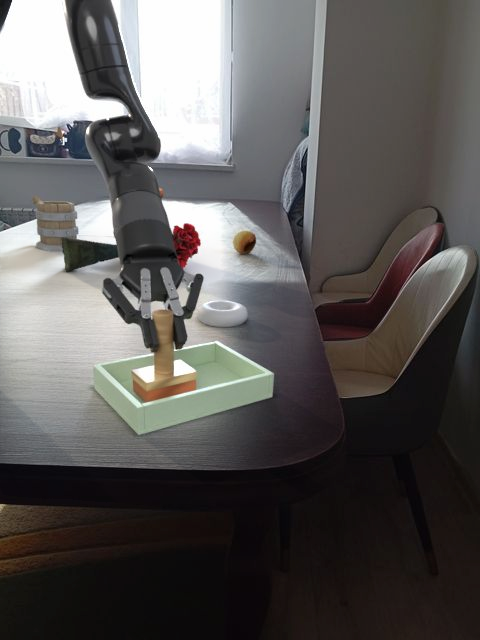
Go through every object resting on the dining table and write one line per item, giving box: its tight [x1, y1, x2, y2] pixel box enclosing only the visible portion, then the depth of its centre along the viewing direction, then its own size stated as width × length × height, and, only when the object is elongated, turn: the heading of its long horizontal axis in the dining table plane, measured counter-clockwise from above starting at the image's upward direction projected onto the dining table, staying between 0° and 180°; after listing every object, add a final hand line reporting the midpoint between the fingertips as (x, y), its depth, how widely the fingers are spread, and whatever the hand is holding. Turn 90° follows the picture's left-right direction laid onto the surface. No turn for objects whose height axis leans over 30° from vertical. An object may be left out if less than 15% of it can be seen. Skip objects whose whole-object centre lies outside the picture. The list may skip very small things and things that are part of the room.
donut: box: [196, 300, 249, 328], centre depth 101 cm, size 10×4×10 cm
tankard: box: [30, 195, 79, 252], centre depth 164 cm, size 20×13×15 cm, turn 48°
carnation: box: [62, 222, 202, 273], centre depth 136 cm, size 16×18×35 cm
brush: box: [131, 308, 197, 403], centre depth 66 cm, size 7×5×11 cm, turn 126°
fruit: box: [232, 229, 257, 256], centre depth 169 cm, size 8×8×8 cm
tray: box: [92, 340, 275, 436], centre depth 70 cm, size 20×15×4 cm
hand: (167, 347), depth 64 cm, fingers closed on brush, 2 cm apart
